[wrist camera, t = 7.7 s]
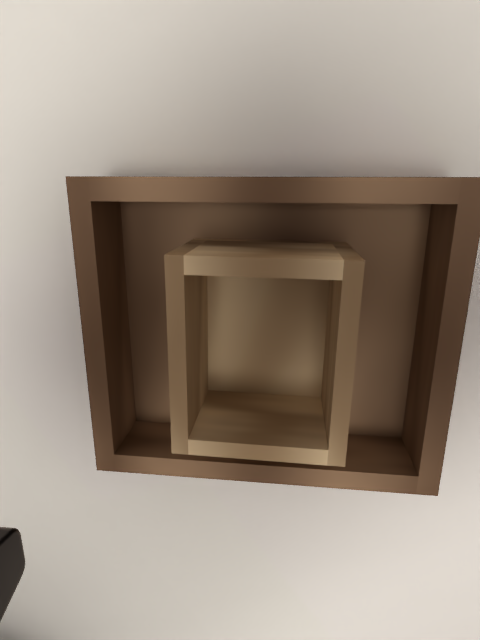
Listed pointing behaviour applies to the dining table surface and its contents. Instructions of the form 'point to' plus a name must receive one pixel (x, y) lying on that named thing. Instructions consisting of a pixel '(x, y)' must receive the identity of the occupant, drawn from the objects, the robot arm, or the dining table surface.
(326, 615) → the dining table surface
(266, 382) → the small crate
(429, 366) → the big crate
